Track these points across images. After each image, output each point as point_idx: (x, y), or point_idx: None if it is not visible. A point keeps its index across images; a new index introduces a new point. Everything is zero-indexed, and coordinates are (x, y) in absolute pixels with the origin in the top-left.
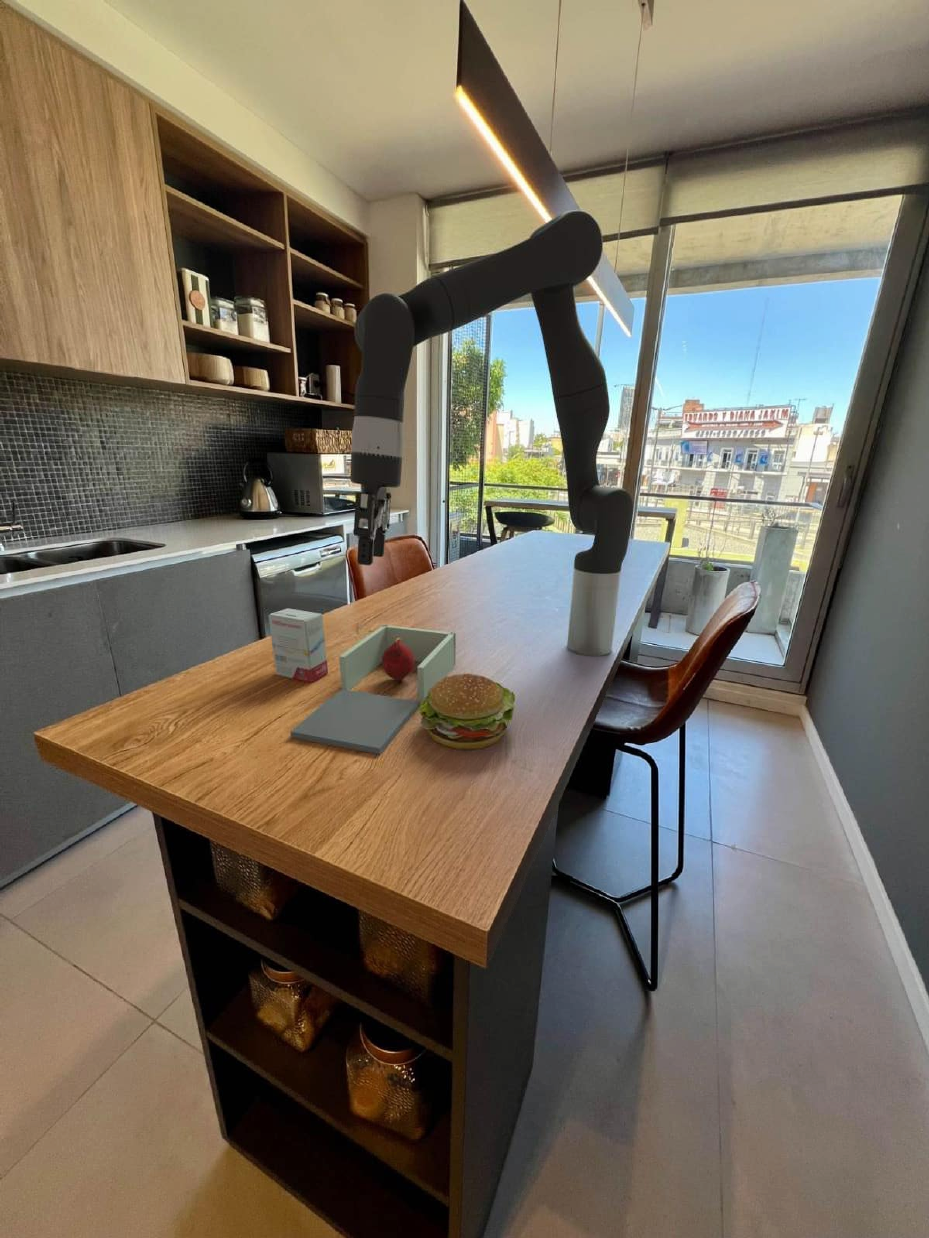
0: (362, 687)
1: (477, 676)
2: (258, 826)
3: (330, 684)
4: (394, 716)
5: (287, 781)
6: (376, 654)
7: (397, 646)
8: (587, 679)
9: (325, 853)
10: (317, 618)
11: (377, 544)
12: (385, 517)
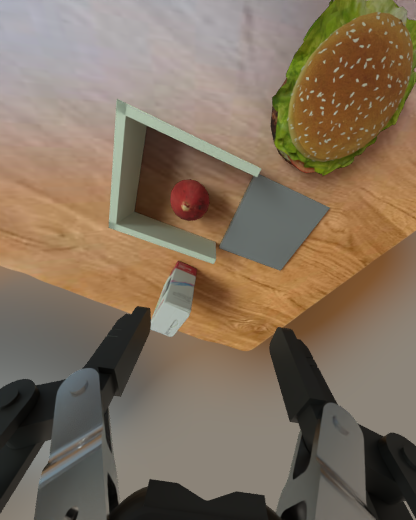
0: (206, 230)
1: (345, 65)
2: (364, 265)
3: None
4: (281, 198)
5: (329, 260)
6: (155, 225)
7: (193, 206)
8: None
9: (411, 230)
10: (174, 302)
11: (135, 346)
12: (108, 510)
